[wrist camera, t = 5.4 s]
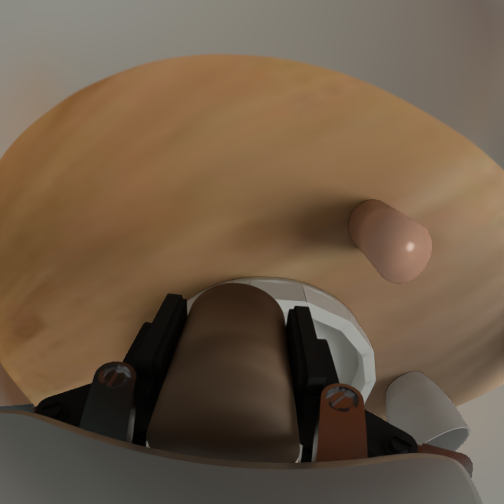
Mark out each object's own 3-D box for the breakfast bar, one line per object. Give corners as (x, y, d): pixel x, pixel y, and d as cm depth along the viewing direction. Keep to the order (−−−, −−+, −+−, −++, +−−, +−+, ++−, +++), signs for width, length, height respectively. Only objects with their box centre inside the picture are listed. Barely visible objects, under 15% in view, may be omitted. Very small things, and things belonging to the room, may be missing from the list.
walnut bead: (292, 287, 11) (316, 415, 6) (278, 364, 13) (285, 483, 7) (187, 277, 11) (133, 397, 5) (189, 356, 13) (158, 470, 7)
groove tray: (390, 285, 23) (406, 306, 20) (334, 426, 30) (339, 448, 27) (152, 265, 23) (136, 285, 20) (170, 416, 30) (164, 438, 27)
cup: (381, 416, 30) (401, 480, 21) (366, 383, 28) (391, 458, 18) (437, 388, 28) (467, 446, 19) (432, 349, 26) (472, 414, 17)
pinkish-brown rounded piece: (398, 203, 21) (438, 225, 15) (388, 251, 22) (422, 285, 17) (352, 196, 21) (383, 216, 15) (343, 246, 22) (368, 281, 17)
